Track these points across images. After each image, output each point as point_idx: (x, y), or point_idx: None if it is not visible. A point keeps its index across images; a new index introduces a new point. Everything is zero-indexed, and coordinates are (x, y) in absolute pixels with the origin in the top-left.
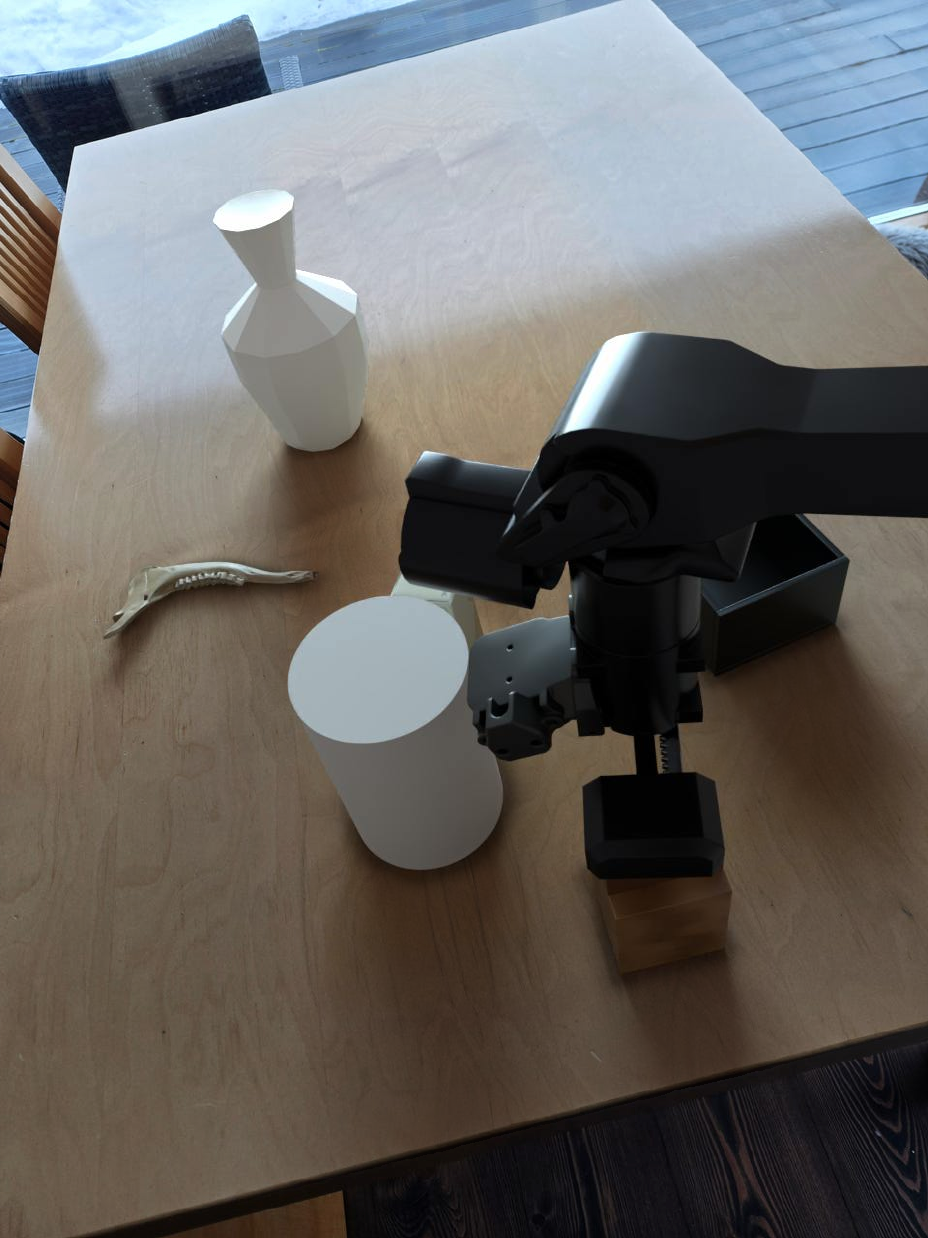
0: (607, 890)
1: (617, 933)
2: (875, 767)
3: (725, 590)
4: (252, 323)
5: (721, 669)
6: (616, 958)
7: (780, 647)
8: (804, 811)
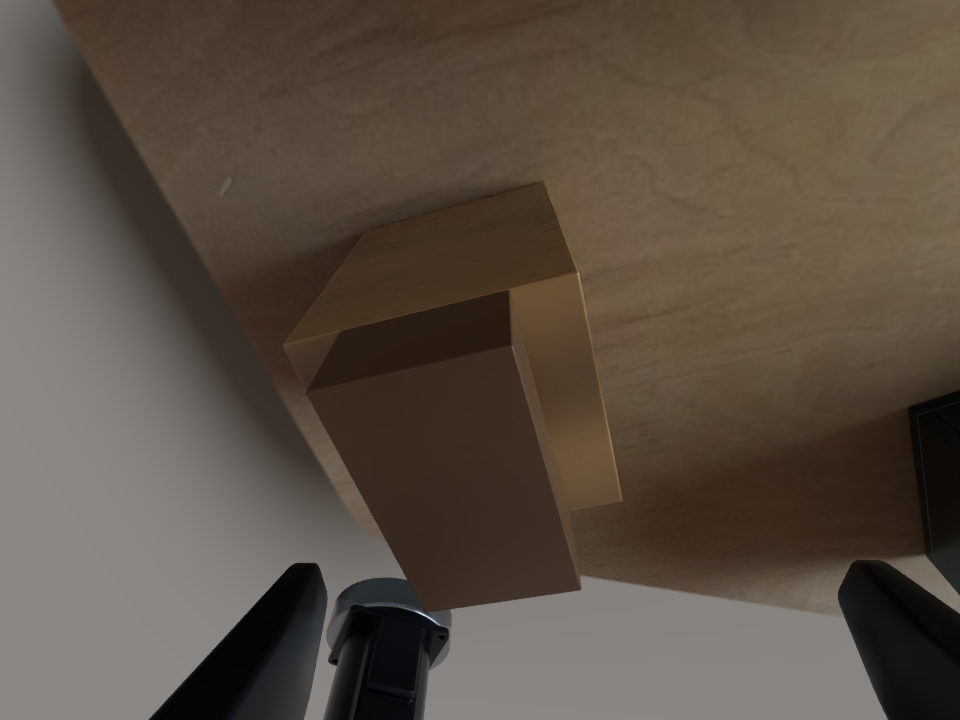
0: (334, 344)
1: (308, 309)
2: (676, 557)
3: None
4: None
5: (920, 426)
6: (379, 232)
7: (920, 496)
8: (627, 485)
